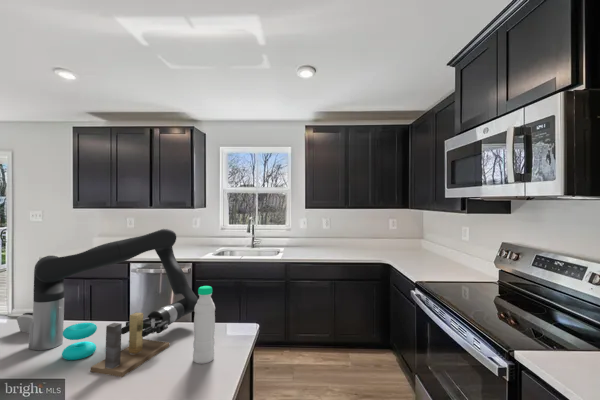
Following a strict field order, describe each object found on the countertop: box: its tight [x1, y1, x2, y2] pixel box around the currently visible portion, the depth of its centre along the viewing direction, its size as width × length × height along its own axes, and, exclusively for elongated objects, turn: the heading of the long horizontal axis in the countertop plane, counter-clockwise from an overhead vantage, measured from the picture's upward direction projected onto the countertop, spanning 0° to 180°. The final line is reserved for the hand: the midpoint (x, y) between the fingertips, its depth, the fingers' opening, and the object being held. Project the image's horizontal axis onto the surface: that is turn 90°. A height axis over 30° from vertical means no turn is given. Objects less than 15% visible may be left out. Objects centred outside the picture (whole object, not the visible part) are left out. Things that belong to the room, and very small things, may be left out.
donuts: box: [61, 322, 98, 361], centre depth 113 cm, size 10×10×10 cm
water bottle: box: [192, 285, 216, 365], centre depth 111 cm, size 7×7×25 cm
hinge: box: [16, 310, 33, 333], centre depth 132 cm, size 17×5×10 cm, turn 72°
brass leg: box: [128, 311, 144, 354], centre depth 112 cm, size 3×3×13 cm
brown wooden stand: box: [90, 322, 170, 378], centre depth 111 cm, size 23×12×14 cm, turn 166°
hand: (132, 332), depth 111 cm, fingers open, 8 cm apart
